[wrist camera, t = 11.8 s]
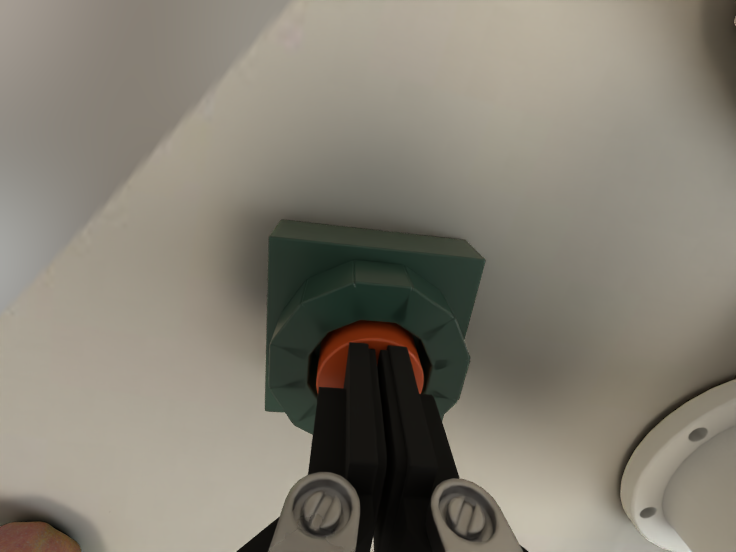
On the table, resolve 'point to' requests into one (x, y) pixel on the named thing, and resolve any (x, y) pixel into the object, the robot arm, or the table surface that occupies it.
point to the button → (376, 338)
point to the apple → (35, 538)
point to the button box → (364, 305)
